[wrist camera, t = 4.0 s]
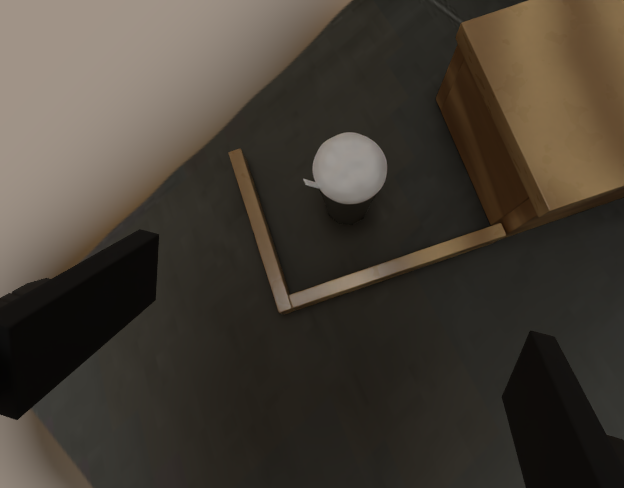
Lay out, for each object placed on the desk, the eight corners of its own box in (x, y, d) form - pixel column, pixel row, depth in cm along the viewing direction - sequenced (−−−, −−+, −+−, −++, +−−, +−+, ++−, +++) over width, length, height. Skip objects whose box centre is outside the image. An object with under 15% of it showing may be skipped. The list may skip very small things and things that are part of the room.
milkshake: (298, 201, 36) (284, 149, 26) (357, 168, 36) (364, 105, 27) (327, 249, 35) (324, 214, 25) (387, 215, 35) (406, 167, 26)
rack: (580, 47, 37) (655, -43, 29) (655, 189, 35) (764, 137, 26) (234, 163, 37) (202, 108, 28) (283, 316, 34) (264, 308, 25)
